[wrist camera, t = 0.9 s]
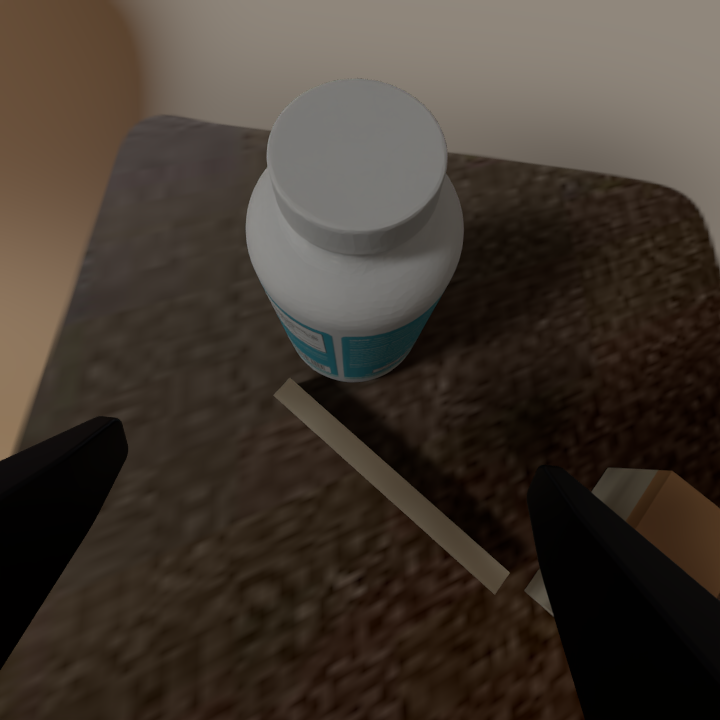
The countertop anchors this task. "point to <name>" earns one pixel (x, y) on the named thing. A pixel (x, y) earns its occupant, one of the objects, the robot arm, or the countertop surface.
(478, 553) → the rail
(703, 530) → the block
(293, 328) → the pill bottle
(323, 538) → the countertop surface
